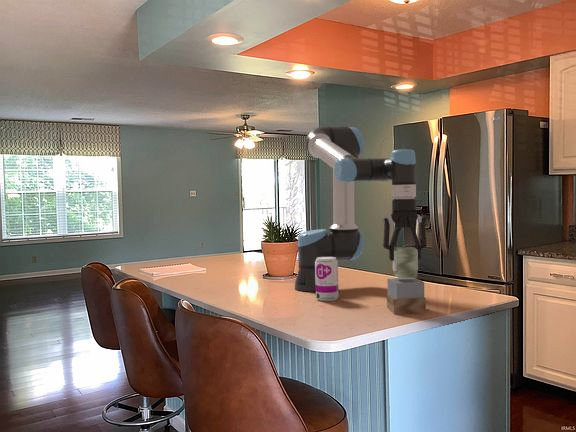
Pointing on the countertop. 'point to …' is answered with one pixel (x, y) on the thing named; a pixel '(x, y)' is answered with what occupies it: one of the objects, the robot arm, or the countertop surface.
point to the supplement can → (326, 278)
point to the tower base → (406, 305)
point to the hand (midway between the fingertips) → (405, 270)
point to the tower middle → (405, 288)
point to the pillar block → (406, 262)
